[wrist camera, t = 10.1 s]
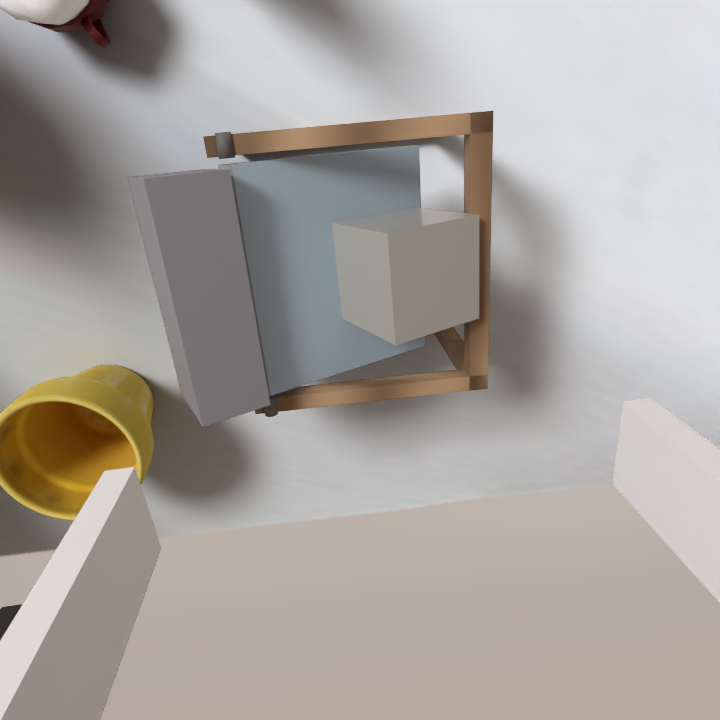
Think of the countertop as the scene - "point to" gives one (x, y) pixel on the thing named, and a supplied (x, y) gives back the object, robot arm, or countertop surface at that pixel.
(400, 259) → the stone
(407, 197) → the trapdoor
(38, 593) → the robot arm
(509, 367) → the countertop surface
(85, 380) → the plant pot
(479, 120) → the trapdoor frame
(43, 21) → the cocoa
